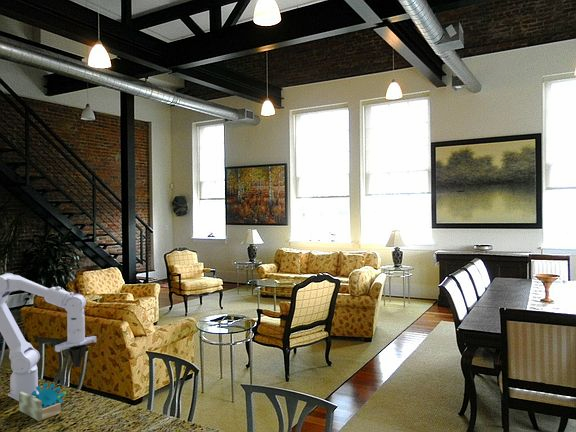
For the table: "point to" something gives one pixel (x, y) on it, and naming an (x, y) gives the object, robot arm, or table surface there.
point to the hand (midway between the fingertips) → (76, 366)
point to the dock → (36, 407)
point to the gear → (49, 395)
